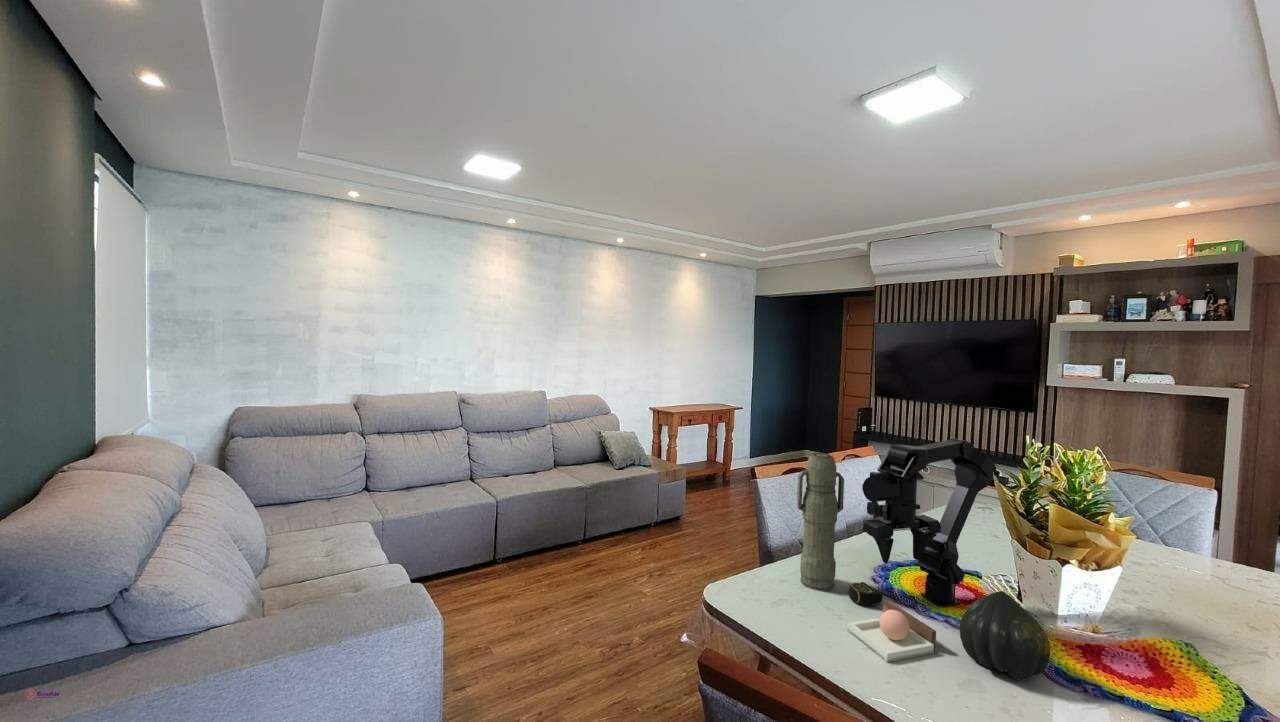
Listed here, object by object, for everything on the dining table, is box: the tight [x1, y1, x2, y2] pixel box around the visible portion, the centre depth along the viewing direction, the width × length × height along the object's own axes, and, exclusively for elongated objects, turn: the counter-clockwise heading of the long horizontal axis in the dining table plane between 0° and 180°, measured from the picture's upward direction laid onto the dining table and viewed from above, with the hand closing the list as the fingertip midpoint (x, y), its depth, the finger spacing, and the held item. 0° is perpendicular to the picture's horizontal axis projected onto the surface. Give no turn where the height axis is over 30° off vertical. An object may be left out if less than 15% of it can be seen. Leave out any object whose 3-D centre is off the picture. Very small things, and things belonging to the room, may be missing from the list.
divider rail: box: [882, 599, 937, 651], centre depth 118 cm, size 1×14×4 cm, turn 17°
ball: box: [879, 610, 910, 640], centre depth 114 cm, size 6×6×6 cm
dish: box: [846, 617, 935, 663], centre depth 114 cm, size 12×12×2 cm
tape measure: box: [848, 581, 884, 606], centre depth 132 cm, size 7×7×4 cm
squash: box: [959, 590, 1051, 681], centre depth 106 cm, size 14×15×15 cm
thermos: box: [796, 452, 845, 592], centre depth 141 cm, size 9×12×35 cm
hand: (900, 561), depth 128 cm, fingers open, 9 cm apart
